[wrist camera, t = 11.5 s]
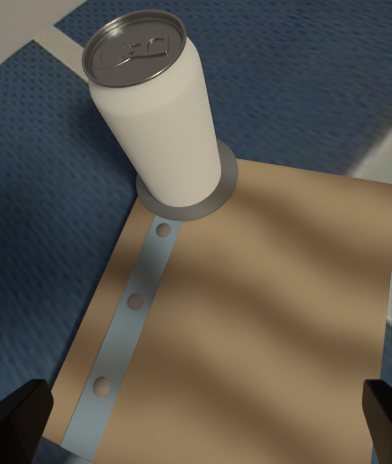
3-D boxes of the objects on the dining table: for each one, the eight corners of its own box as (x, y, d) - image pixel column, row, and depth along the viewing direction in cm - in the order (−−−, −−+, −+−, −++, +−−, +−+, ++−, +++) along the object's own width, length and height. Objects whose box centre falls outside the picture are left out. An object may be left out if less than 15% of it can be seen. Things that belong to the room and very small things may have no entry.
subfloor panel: (349, 582, 16) (357, 601, 15) (33, 422, 22) (19, 426, 21) (396, 172, 25) (404, 162, 23) (161, 136, 30) (157, 126, 29)
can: (150, 151, 28) (82, 18, 17) (220, 141, 27) (193, -8, 16) (147, 213, 26) (64, 102, 15) (224, 205, 25) (196, 78, 14)
